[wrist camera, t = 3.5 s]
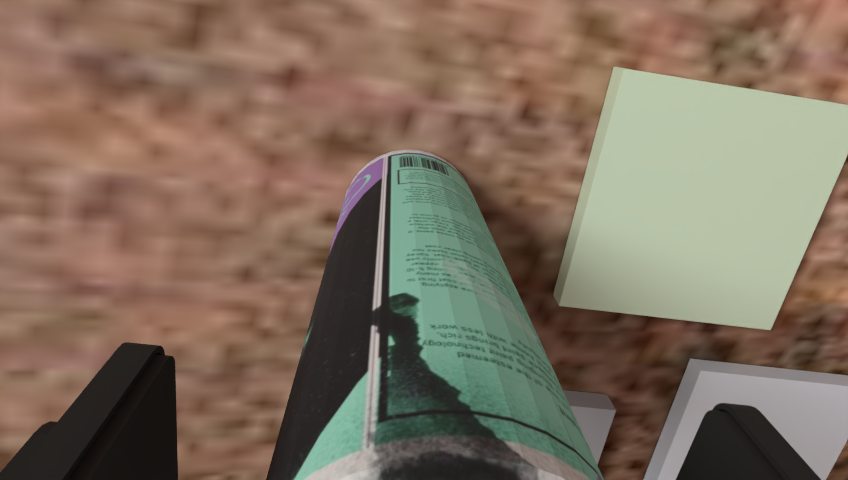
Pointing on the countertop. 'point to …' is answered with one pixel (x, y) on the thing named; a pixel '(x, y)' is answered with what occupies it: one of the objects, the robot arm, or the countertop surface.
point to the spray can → (423, 348)
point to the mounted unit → (592, 417)
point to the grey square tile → (773, 396)
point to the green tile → (699, 199)
